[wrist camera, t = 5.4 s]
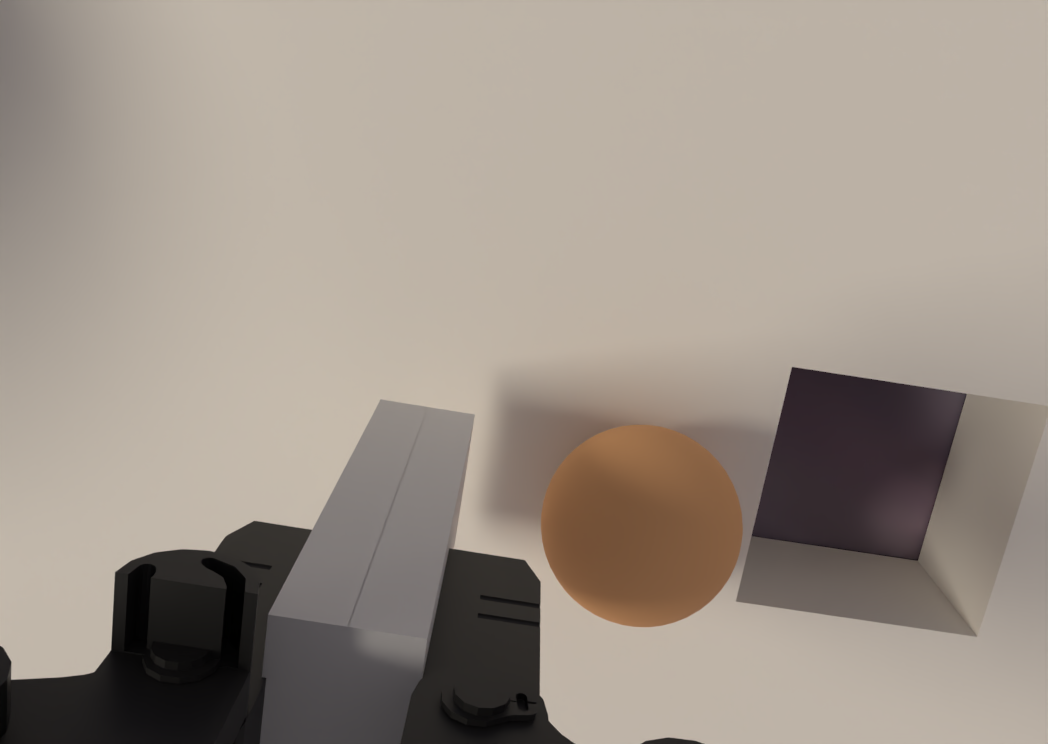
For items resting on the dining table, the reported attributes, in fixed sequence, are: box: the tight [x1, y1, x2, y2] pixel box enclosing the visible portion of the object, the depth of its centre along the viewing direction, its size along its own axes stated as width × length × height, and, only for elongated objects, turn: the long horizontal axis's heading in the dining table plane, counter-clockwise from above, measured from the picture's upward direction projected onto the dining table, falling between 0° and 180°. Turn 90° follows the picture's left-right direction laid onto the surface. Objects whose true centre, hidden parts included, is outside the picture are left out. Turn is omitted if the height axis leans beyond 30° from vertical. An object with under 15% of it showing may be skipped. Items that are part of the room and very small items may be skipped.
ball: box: [541, 425, 743, 627], centre depth 16 cm, size 3×3×3 cm
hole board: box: [0, 0, 1048, 744], centre depth 19 cm, size 18×28×3 cm, turn 81°
